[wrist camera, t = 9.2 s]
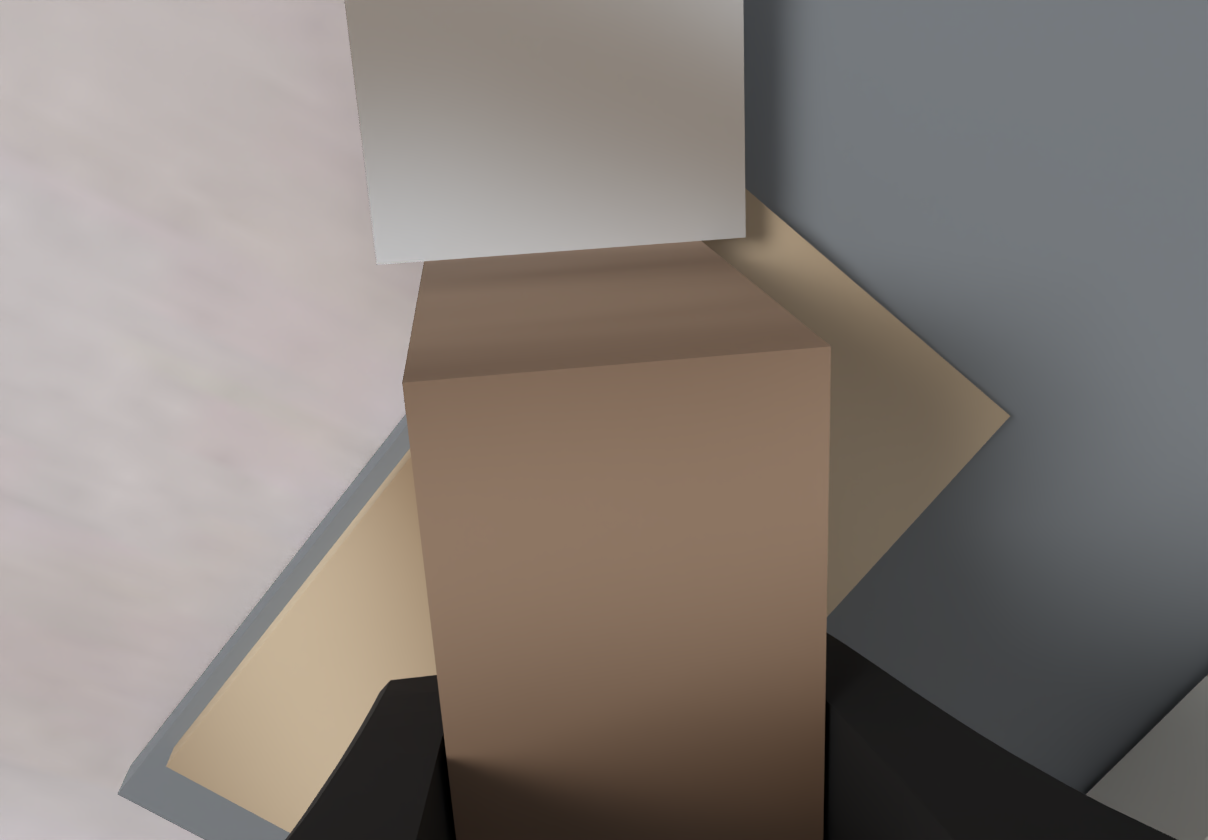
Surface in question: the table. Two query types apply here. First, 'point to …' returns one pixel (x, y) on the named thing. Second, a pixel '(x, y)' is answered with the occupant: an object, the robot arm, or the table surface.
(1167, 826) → the tile
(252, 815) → the mat
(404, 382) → the brown rectangular block
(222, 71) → the table surface
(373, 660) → the pad
